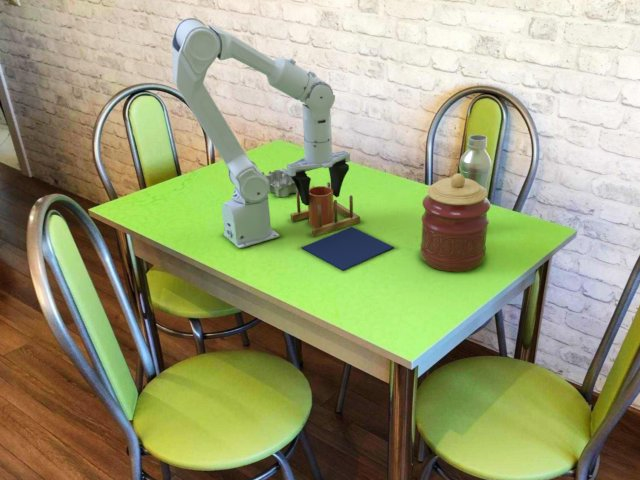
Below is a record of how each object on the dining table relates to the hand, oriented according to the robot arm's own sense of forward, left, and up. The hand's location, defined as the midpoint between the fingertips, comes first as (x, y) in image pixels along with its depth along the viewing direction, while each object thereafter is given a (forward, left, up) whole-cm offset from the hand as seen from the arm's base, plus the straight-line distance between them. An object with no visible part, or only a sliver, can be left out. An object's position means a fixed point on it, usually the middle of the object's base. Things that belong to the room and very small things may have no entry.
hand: (320, 199), depth 151 cm
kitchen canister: (+13, -29, -6) cm, 32 cm away
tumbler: (0, 0, -6) cm, 6 cm away
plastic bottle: (+25, -21, -6) cm, 33 cm away
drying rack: (+1, 0, -6) cm, 6 cm away
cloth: (-2, -13, -6) cm, 15 cm away
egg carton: (+2, +22, -6) cm, 23 cm away
